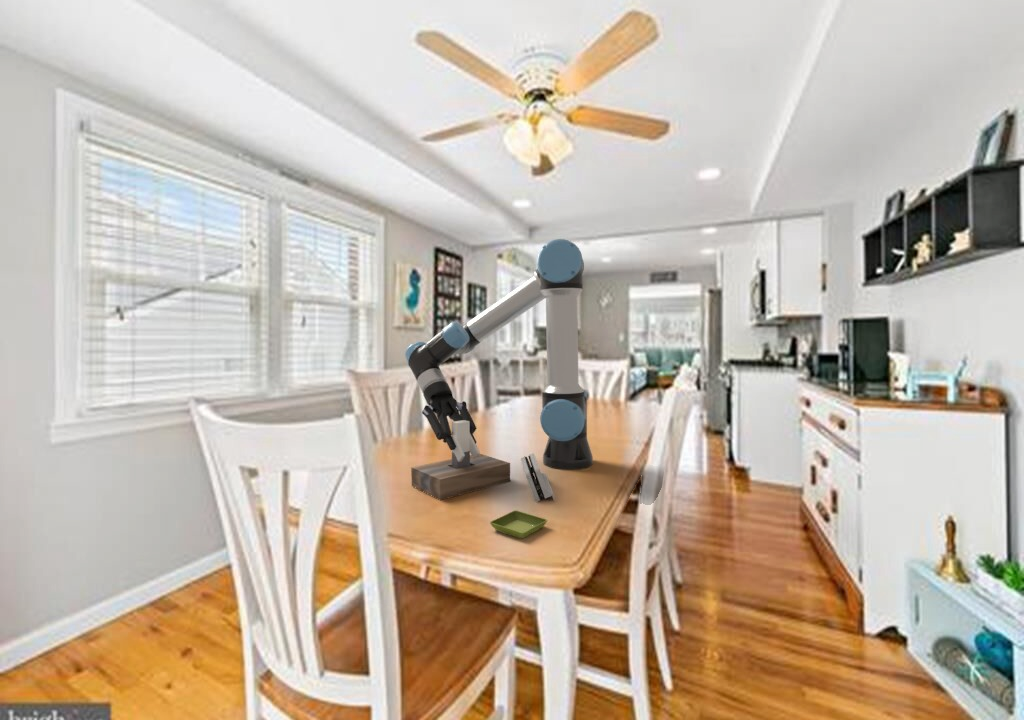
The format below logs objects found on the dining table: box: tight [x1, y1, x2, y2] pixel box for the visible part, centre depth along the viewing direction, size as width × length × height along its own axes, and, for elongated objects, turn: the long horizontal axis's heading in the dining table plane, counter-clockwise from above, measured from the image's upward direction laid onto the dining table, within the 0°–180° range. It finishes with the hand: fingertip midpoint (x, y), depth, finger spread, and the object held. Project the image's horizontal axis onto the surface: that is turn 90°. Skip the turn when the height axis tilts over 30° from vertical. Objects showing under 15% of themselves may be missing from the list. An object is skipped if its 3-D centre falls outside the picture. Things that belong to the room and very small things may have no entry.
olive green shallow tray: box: [489, 510, 548, 539], centre depth 97 cm, size 9×9×2 cm
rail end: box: [451, 420, 471, 469], centre depth 127 cm, size 2×4×13 cm, turn 130°
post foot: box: [410, 453, 511, 500], centre depth 127 cm, size 14×22×5 cm, turn 130°
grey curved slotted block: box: [520, 453, 557, 502], centre depth 121 cm, size 17×5×10 cm, turn 3°
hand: (469, 457), depth 124 cm, fingers closed on rail end, 4 cm apart
